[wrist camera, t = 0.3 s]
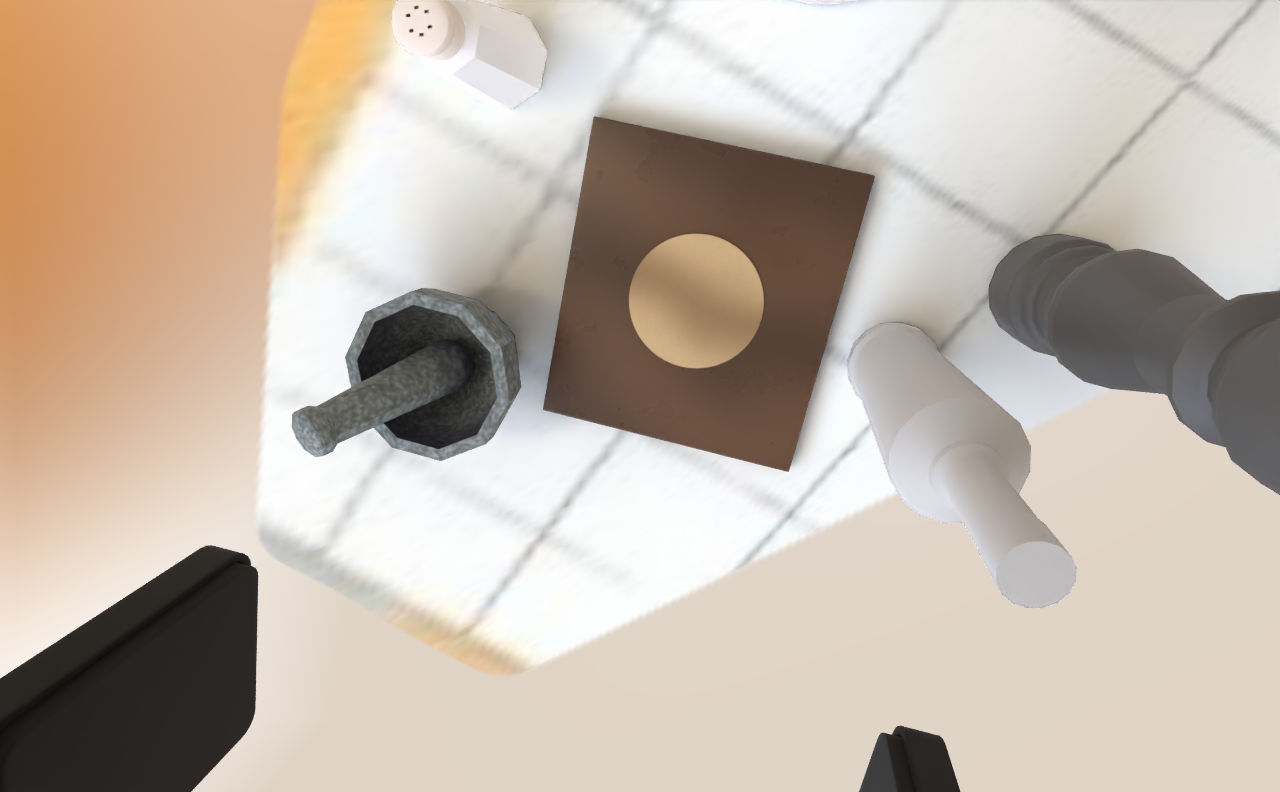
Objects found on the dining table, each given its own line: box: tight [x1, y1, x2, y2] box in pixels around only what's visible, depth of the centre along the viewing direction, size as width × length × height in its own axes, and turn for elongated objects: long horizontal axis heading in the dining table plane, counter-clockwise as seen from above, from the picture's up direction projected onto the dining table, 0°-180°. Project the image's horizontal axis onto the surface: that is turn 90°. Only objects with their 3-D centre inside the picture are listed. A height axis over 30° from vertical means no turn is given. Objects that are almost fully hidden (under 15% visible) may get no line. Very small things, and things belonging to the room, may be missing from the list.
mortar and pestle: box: [292, 288, 521, 461], centre depth 42 cm, size 11×9×12 cm
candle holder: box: [989, 234, 1280, 495], centre depth 29 cm, size 6×6×25 cm
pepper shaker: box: [391, 0, 548, 110], centre depth 37 cm, size 5×5×11 cm
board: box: [543, 117, 875, 472], centre depth 44 cm, size 18×16×1 cm
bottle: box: [848, 322, 1076, 608], centre depth 32 cm, size 5×5×25 cm
